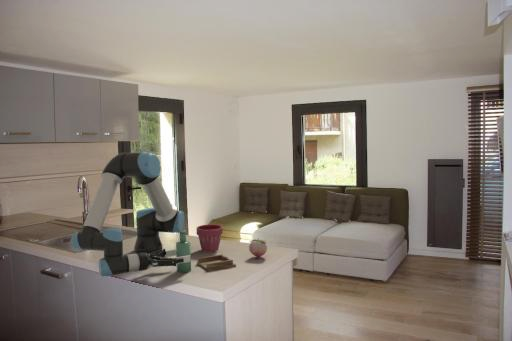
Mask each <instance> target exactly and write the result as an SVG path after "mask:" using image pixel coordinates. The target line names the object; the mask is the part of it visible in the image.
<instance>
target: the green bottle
mask: <svg viewBox="0 0 512 341" xmlns="http://www.w3.org/2000/svg"><path fill="white" fill-rule="evenodd" d="M178 234H179V241H177V242H175V249H176V255H175V256H176V257H182V256H188V255H190V262H186V263H180V264H176V272H177V273H179V274H185V273H190V272H191V271H192V260H191V259H192V255H191V250H192V249H191V241H189V240H187V230H185V229H184V230H183V229H182V230H181V231H179V232H178Z"/></svg>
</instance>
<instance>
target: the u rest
mask: <svg viewBox="0 0 512 341" xmlns="http://www.w3.org/2000/svg"><path fill="white" fill-rule="evenodd" d="M196 264H197V265H198V266H199V267H200V268H202V269H204V270H205V271H207V272H214V271H218V270H223V269H225V270H226V269H231V268H236V267H237V264H236V263H234V259H232V258H230V257H228V256H226V255H224V254H223V253H221V254H217V255H216V254H215V255H209V256H203V257H197V262H196Z"/></svg>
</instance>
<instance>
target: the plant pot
mask: <svg viewBox="0 0 512 341" xmlns="http://www.w3.org/2000/svg"><path fill="white" fill-rule="evenodd" d="M223 230H224V229H223V226H222V225H221V224H220V225H219V224H211V223H210V224H201V225H199V226H197V227H196V235H197V236H198V240H199V244H200V248H201V251H202V252H204V251H205V252H206V253H213V251H214V252H217V251H218V250H219V247H220V243H221V237H222V235H223V232H224V231H223ZM205 252H204V253H205Z"/></svg>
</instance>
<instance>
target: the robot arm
mask: <svg viewBox="0 0 512 341" xmlns="http://www.w3.org/2000/svg"><path fill="white" fill-rule="evenodd" d="M161 167H162V166H161V161H160V159H159V157H158V156H157V155H156V154H155V153H154V152H147V151H143V152H120V153H118V154H117V155H115V156H113V157H112V158H111V159H110V160H109V161H108V162H107V164H106V165H105V166H104V168H103V170H102V172H101V175H100V177H101V181H100V183H99V187H98V189H97V191H96V193H95V195H94V199H93V201H92V203H91V206H90V208H89V211H88V213H87V216H86V218H85V221H84V223H83V225H82V228H81V230H80V231H75V232H74V233H73V234H72V236H71V239H70V243H71V246H72V247H73V249H76V250H82V251H98V252H100V251H101V252H102V251H103V257H102V258H100V259H99V260H98V271H99V275H100V276H101V277H110V276H111V277H113V276H117V275H123V274H128V273H130V274H133V273H134V272H138V271H139V272H141V271H142V272H143V271H147V270H148V269H149V266H152V268H157V267H177V264H180V263H186V262H190V255H188V256H182V257H177V256H176V248H175V249H168V250H166V248H163V243H162V241H161V237H160V235H159V234H160V233H170V234H174V233H178V234H179V231H181V230H183V228H184V225H185V213H184V211H182V210H178V209H177V207H176V206H175V205H174V204H172V203H171V201H170V199H169V197H168V195H167V193H166V190H165V189H164V187H163V184H162V183H161V181H160V178H159V176H160V173H161V170H162V169H161ZM125 178H133V179H134V180H135V182H136V183H137V184H138V185H139V186H140V185H141V186H142V188H143V190H144V192H145V194H146V196H147V197H148V199H149V201H150V203H151V205H152V207H148V208H143V209H140V210H137V211H136V215H135V216H136V218H135V220H136V221H135V222H136V240H135V243H134V247H133V252H134V253H131V254H129V253H128V254H124V243H123V241H124V240H123V239H124V238H123V230H122V229H121V228H119V227H108V228H104V229H103V226H104V223H105V220H106V219H107V215H108V212H109V210H110V208H111V204H112V202H113V199H114V197H115V195H116V191H117V189H118V186H119V185H120V184H122V182H123V180H124V179H125ZM102 229H103V231H102ZM101 231H102V232H101ZM174 256H176V257H174ZM171 257H173V258H171Z"/></svg>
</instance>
